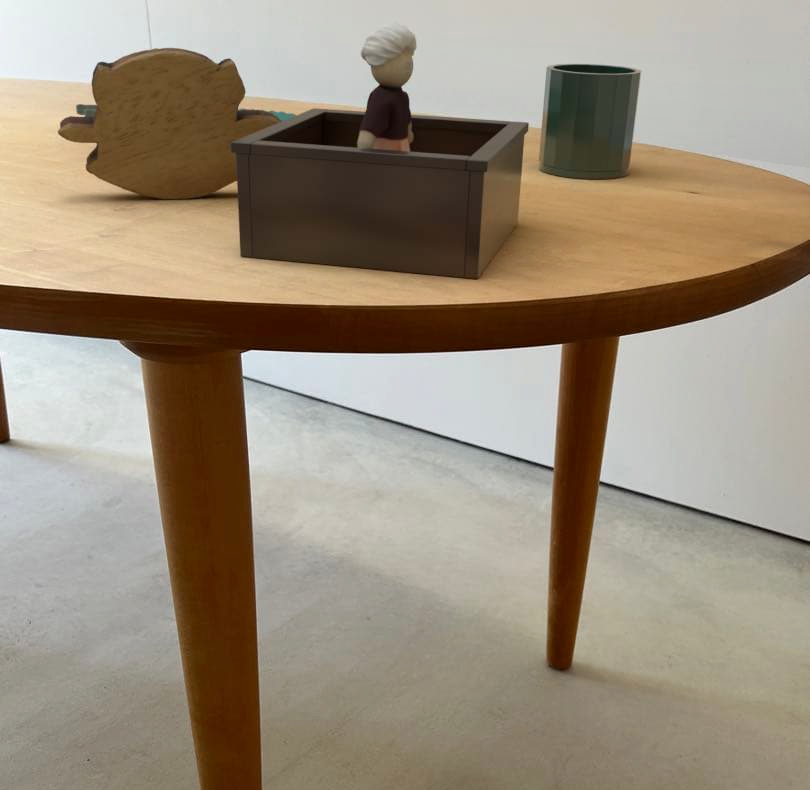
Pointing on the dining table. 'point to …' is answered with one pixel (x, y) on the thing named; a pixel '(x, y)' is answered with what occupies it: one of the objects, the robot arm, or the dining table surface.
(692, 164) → the dining table surface
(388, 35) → the grandmother figurine
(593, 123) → the cup
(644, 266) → the dining table surface
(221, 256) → the dining table surface
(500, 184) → the dark wooden storage bin
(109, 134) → the wooden carving
